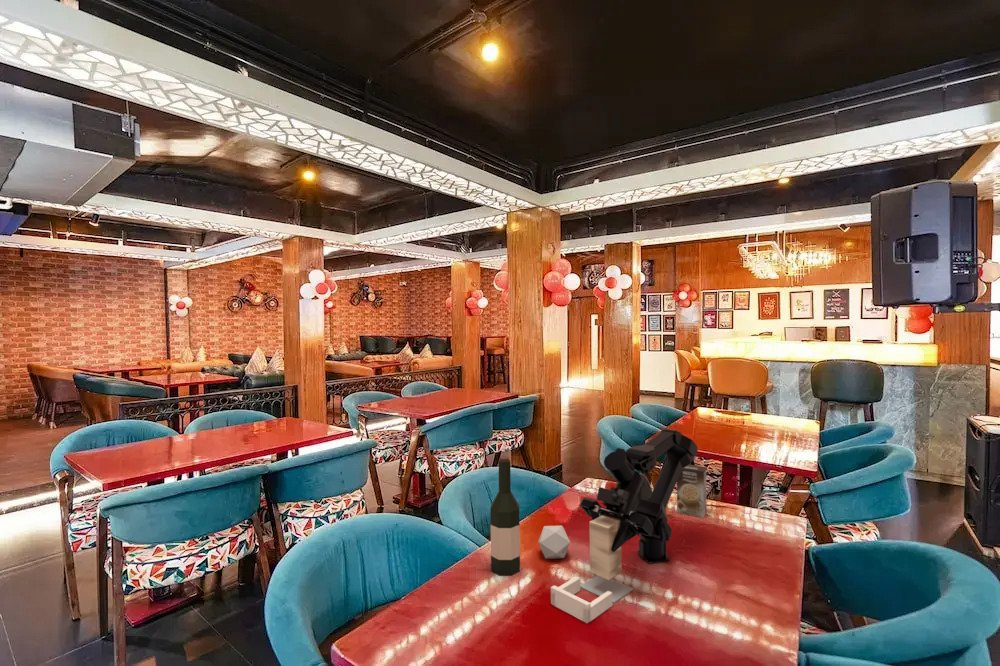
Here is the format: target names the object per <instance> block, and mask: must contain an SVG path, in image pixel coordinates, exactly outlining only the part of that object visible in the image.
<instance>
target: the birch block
mask: <svg viewBox="0 0 1000 666" xmlns="http://www.w3.org/2000/svg"><path fill="white" fill-rule="evenodd" d="M588 522H589V523H588V524H589V527H588V528H589V572H590V573H592V574H594V575H595V576H597V575H598V576H601V577H603V578H605V579H608V580H610V579H613V578H615V577H616V576H617V575H619V574H620V573H622V567H623V566H622V546H621V547H619V548H618V549H617V550H616V551H615V552H612V550H611V548H612V545H613V542H614V540H615V538H616V535H617V533H618V531H619V528H620V521H619V520H616V519H612V518H609V517H606V516H600V517H598V518H596V519H594V520H592V519H591V520H590V521H588Z"/></svg>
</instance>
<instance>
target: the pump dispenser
mask: <svg viewBox="0 0 1000 666" xmlns="http://www.w3.org/2000/svg"><path fill="white" fill-rule="evenodd" d="M638 473H639V474H640V475H642V476H643V479H644V481H645V486H641V487H640V489H639V491H638V494H637V496H636V499H635V501H636V502H637V504H636V506H632V509H631V511H630V513H629V515H630V514H631V513H632V512H636V511H635V510H636V508H637V507H638V504H639V502H640V500H641V499H643V500H648V499H649V498H650V496H651V494H652V492H653V488H652V486H651V483H650V482H649V481H650V480H649V479H648V477H647V476H646V475H645V474H644V473H642V472H638Z"/></svg>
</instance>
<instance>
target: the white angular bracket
mask: <svg viewBox="0 0 1000 666" xmlns="http://www.w3.org/2000/svg"><path fill="white" fill-rule="evenodd" d="M580 585H581V577H579V576H574V577H573V578H571V579H569V580H567V581H566V582H565V583H563V584H561V585H560V586H557V585H554V584H553V585H552V586H550V605H552V606H554V607H555V608H557V609H559V610H561V611H563V612H565V613H567V614H569V615H571V616H572V617H575V618H576V619H578V620H579V621H581V622H584V623H585V624H589V623H591V622H592V621H593V620H594V619H596V618H598V617H599V616H600V615H602V614H603V613H604V612H606V611H607V610H609V609H610V608H611V607H613V606H614V605H613V604H614V603H612V592H610V591H607V592H605V593H604V594H602V595H601V596H597V598H595V599H593V600H592V601H591V602H589V601H587V600H585V599H583V598H581V597H579V596H577V595H575V594H577V593H579V592H580V591H581V588H580Z"/></svg>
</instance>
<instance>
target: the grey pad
mask: <svg viewBox="0 0 1000 666" xmlns="http://www.w3.org/2000/svg"><path fill="white" fill-rule="evenodd" d="M580 589H581V590H582V589H583V590H584V591H587V592H588V593H591V594H593V595H595V596H597V597H599V596H601V595H602V594H604V593H605V592H607V591H610V592H612V604H616V603H617V602H618V601H620V600H621V599H623V598H624V597H625V596H627V595H628V594H629V593H631V592H633V590H634V588H633V587H631V586H629V585H627V584H624V583H621V582H620V581H617V580H614V579H613V578H612V579H610V580H608V579H605V578H603V577H601V576H598V575H595V576H593V577H592V578H590V579H589V580H587V581H585V582H584V583H582V584H580Z"/></svg>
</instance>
